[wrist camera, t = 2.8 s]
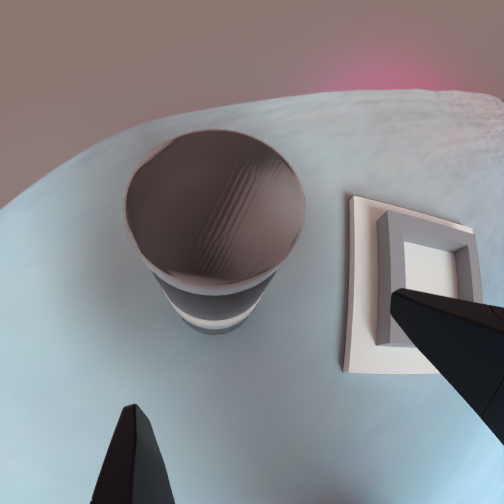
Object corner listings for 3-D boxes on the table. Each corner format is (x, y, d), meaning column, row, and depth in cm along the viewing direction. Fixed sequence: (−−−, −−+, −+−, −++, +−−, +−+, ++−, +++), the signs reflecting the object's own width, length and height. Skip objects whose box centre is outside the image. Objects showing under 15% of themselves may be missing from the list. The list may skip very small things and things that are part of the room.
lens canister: (267, 279, 22) (328, 172, 10) (231, 349, 20) (256, 324, 8) (198, 244, 23) (187, 110, 10) (159, 310, 20) (89, 229, 8)
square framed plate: (474, 371, 21) (496, 368, 18) (342, 372, 20) (361, 371, 17) (466, 232, 26) (484, 220, 24) (349, 201, 25) (363, 182, 23)
